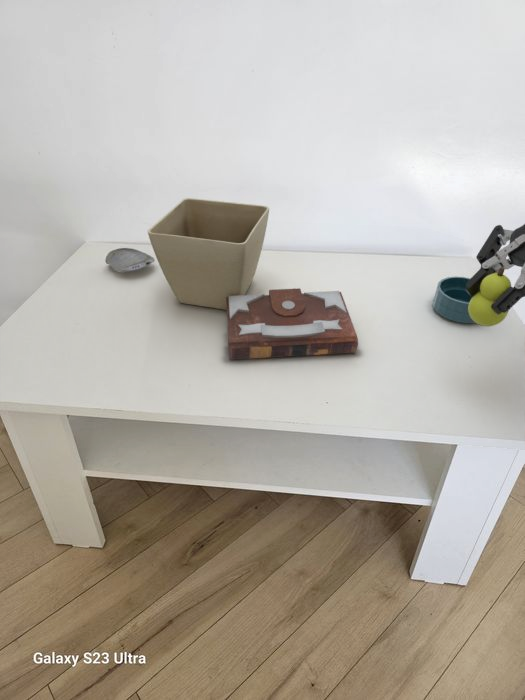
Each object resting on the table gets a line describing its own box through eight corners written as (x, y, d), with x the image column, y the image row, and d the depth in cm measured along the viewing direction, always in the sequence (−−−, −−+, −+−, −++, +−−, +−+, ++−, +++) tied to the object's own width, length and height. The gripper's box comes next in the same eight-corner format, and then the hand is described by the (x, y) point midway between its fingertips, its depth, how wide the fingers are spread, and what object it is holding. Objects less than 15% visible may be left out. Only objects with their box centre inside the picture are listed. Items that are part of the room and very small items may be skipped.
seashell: (97, 276, 105) (92, 256, 102) (114, 259, 112) (110, 240, 109) (146, 281, 104) (143, 261, 100) (160, 264, 110) (157, 245, 107)
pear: (507, 322, 70) (529, 266, 64) (493, 338, 67) (515, 281, 61) (472, 309, 73) (490, 255, 67) (457, 323, 70) (475, 268, 64)
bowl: (493, 309, 95) (501, 288, 92) (473, 332, 89) (481, 310, 86) (445, 291, 101) (451, 271, 98) (422, 311, 95) (428, 290, 92)
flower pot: (191, 266, 109) (184, 196, 99) (269, 276, 106) (270, 205, 95) (157, 309, 95) (145, 232, 84) (246, 323, 91) (244, 244, 81)
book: (229, 364, 82) (228, 344, 79) (226, 310, 94) (225, 290, 90) (355, 357, 84) (359, 337, 81) (337, 305, 95) (340, 285, 92)
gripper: (527, 174, 65) (437, 266, 69) (623, 210, 55) (512, 316, 59) (540, 205, 70) (456, 290, 74) (630, 244, 60) (528, 339, 64)
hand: (481, 301), depth 66 cm, fingers closed on pear, 4 cm apart
